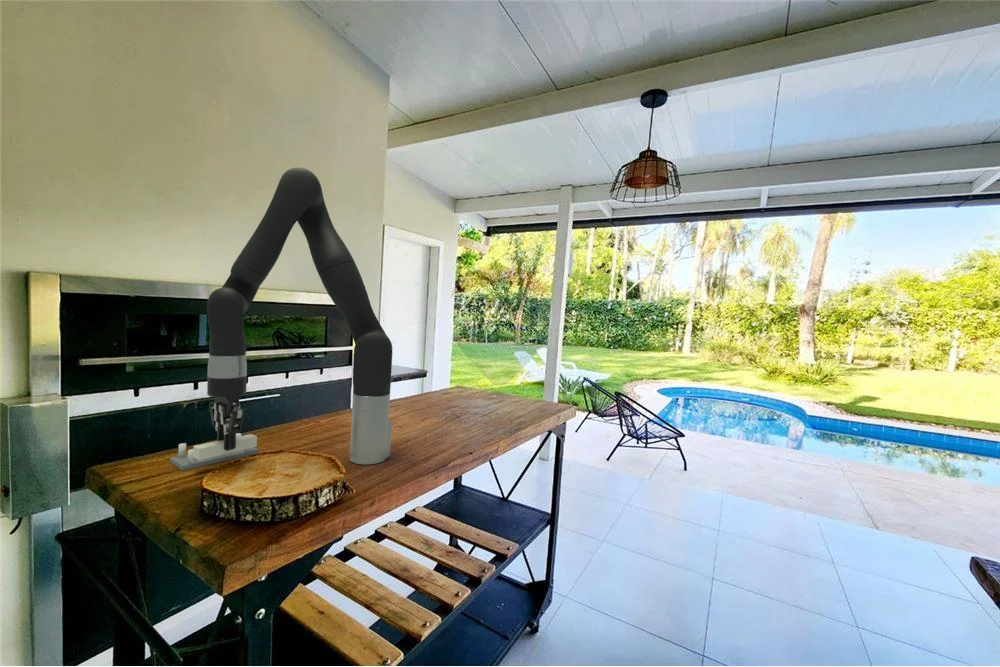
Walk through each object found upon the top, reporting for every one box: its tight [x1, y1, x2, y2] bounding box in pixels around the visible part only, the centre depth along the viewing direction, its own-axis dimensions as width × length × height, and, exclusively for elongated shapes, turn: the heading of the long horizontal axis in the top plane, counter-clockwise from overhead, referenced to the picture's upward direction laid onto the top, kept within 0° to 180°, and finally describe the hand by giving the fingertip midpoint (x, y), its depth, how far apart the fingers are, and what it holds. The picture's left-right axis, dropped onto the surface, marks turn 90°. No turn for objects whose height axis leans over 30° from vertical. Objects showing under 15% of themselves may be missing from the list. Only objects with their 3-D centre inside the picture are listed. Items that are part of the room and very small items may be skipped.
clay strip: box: [192, 433, 258, 460], centre depth 94 cm, size 12×3×2 cm, turn 146°
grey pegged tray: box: [169, 432, 259, 472], centre depth 99 cm, size 16×8×4 cm, turn 146°
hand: (226, 447), depth 94 cm, fingers closed on clay strip, 3 cm apart
